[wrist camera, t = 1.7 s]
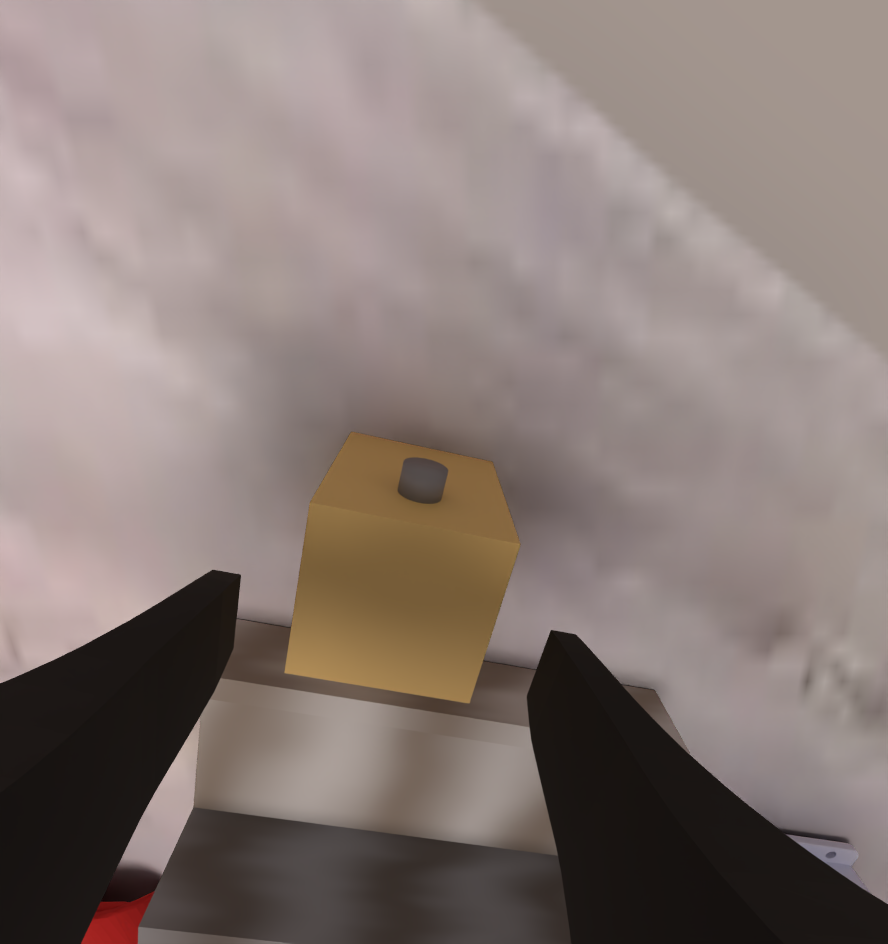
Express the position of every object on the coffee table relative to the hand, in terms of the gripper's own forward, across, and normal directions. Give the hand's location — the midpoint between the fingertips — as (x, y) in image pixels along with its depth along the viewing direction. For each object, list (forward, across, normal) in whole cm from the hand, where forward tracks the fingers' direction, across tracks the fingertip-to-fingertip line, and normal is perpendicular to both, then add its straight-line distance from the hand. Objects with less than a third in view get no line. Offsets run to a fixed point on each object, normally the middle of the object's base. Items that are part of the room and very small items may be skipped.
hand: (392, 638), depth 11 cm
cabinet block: (+7, 0, 0) cm, 7 cm away
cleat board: (+7, -3, +11) cm, 13 cm away
